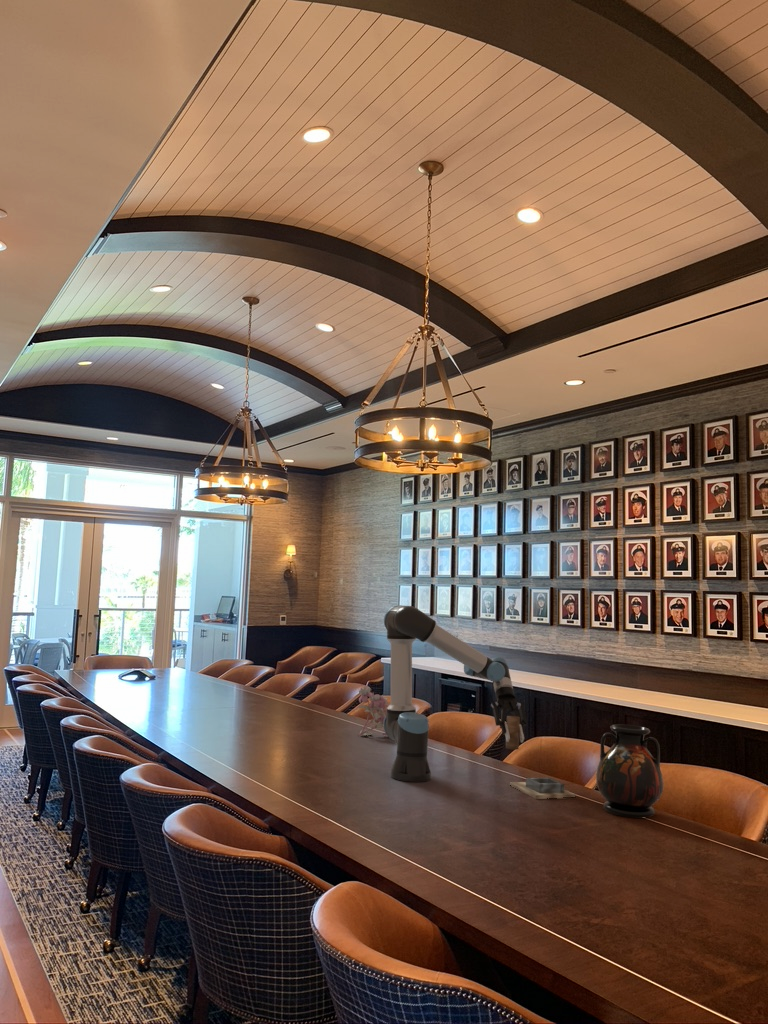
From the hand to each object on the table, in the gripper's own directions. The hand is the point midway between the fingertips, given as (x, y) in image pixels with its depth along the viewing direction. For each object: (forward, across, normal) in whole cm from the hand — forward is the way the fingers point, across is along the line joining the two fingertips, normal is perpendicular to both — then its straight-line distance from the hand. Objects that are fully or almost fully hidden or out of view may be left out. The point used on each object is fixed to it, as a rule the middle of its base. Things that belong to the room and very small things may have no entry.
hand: (515, 740), depth 299 cm
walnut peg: (0, 0, -5) cm, 5 cm away
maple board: (+22, -6, 0) cm, 22 cm away
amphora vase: (+41, -26, +19) cm, 52 cm away
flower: (-54, +38, -79) cm, 103 cm away
